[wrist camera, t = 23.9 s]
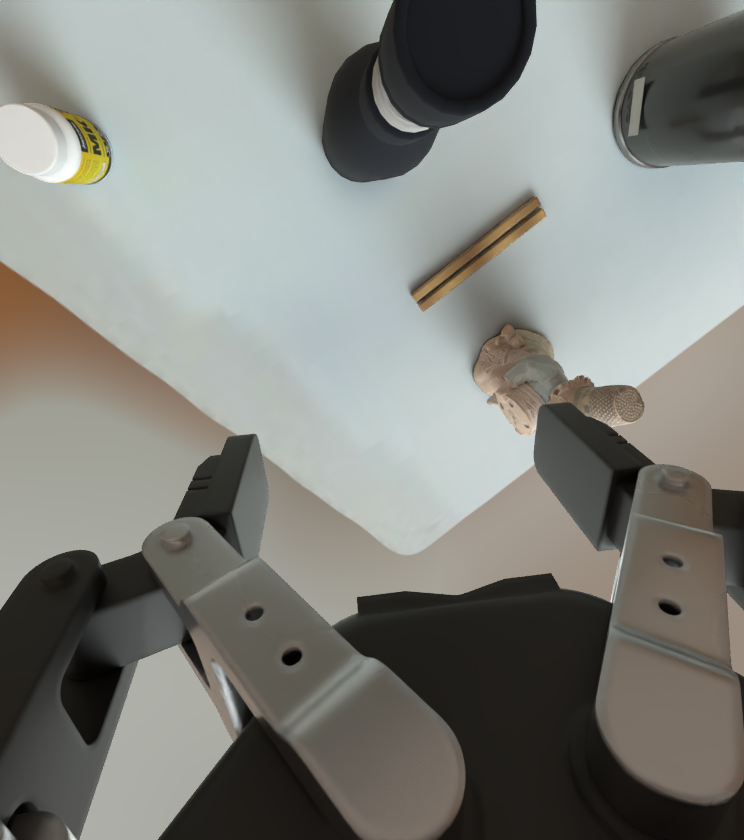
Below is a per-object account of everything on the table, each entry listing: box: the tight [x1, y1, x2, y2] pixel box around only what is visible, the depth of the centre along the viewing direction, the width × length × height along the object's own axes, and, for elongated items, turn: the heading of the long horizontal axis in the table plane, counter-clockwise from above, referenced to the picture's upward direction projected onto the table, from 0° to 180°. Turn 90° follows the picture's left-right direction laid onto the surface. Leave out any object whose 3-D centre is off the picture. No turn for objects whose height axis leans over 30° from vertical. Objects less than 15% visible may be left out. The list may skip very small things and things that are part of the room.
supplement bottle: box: [0, 103, 113, 184], centre depth 33 cm, size 5×5×8 cm
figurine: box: [473, 324, 644, 435], centre depth 40 cm, size 9×8×20 cm
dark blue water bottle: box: [322, 0, 537, 182], centre depth 25 cm, size 6×6×30 cm
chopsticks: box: [411, 197, 546, 311], centre depth 44 cm, size 14×2×1 cm, turn 127°
